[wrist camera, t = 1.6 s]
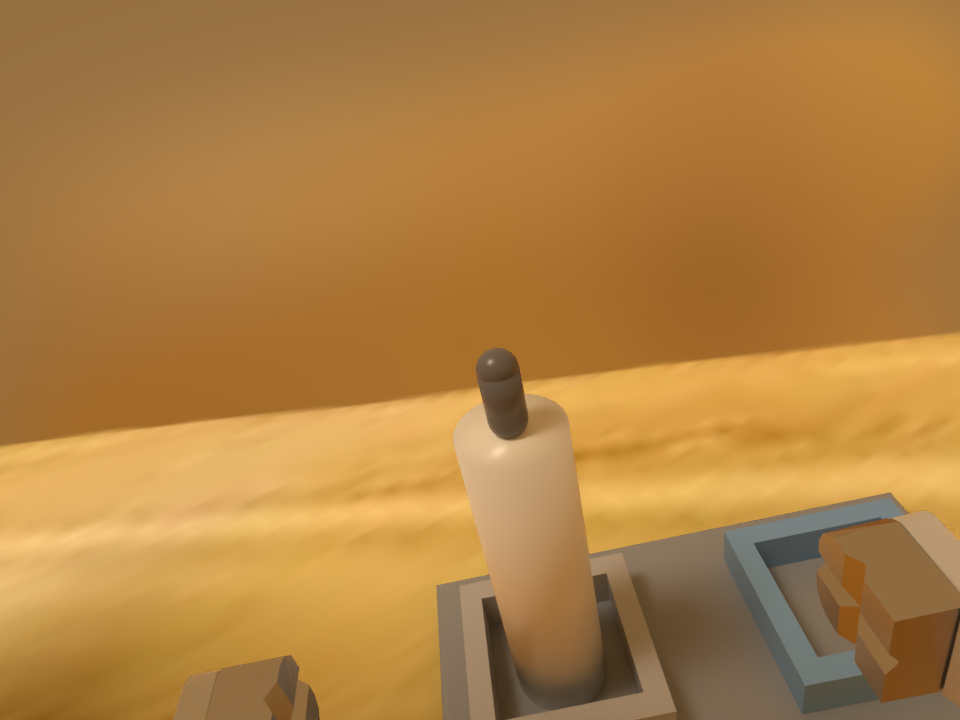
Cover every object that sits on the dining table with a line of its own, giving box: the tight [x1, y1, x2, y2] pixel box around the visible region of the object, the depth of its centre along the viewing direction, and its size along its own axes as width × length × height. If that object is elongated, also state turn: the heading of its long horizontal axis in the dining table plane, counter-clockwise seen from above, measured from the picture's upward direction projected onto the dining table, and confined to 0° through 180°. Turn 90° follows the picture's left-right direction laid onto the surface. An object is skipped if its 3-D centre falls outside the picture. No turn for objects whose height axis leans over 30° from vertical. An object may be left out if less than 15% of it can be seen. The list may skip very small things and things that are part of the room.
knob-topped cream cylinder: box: [453, 348, 606, 711], centre depth 27 cm, size 4×4×17 cm
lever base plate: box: [437, 493, 960, 720], centre depth 31 cm, size 24×12×3 cm, turn 96°
